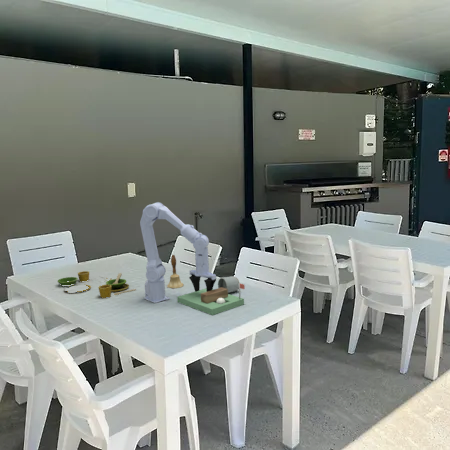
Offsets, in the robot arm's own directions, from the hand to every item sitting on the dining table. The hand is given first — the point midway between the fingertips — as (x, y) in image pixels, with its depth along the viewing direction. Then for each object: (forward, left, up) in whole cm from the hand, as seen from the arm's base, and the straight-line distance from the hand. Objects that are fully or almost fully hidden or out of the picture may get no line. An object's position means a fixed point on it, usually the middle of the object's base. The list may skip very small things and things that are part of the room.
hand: (203, 292), depth 196 cm
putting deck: (+5, 0, -4) cm, 6 cm away
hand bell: (-28, +5, -4) cm, 29 cm away
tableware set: (-57, -24, -5) cm, 62 cm away
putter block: (+8, 0, -1) cm, 8 cm away
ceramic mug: (-2, +16, -4) cm, 17 cm away
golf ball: (+12, 0, -2) cm, 12 cm away
